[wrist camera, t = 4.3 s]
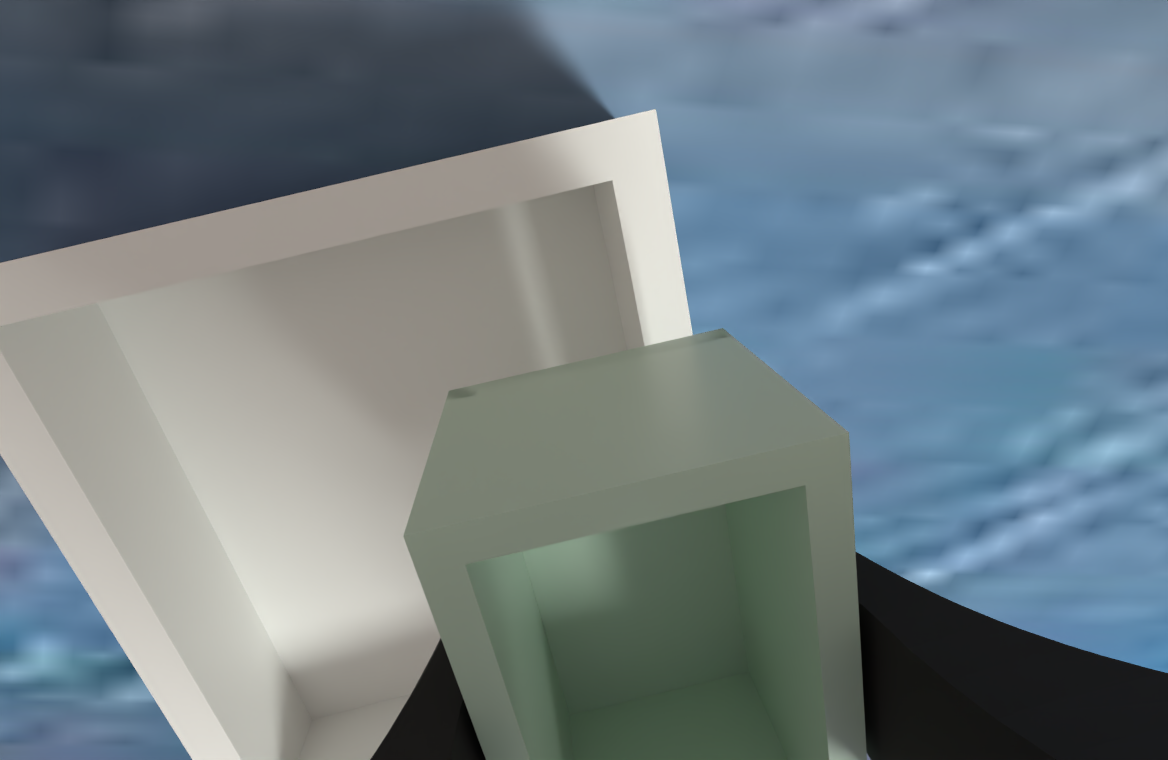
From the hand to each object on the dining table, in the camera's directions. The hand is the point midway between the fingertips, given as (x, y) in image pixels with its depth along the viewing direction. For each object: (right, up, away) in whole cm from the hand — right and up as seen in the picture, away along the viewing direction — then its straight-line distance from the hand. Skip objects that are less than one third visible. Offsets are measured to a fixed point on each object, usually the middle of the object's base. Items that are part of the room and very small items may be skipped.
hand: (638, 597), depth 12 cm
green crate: (0, +1, +2) cm, 2 cm away
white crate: (-6, +1, +8) cm, 10 cm away
